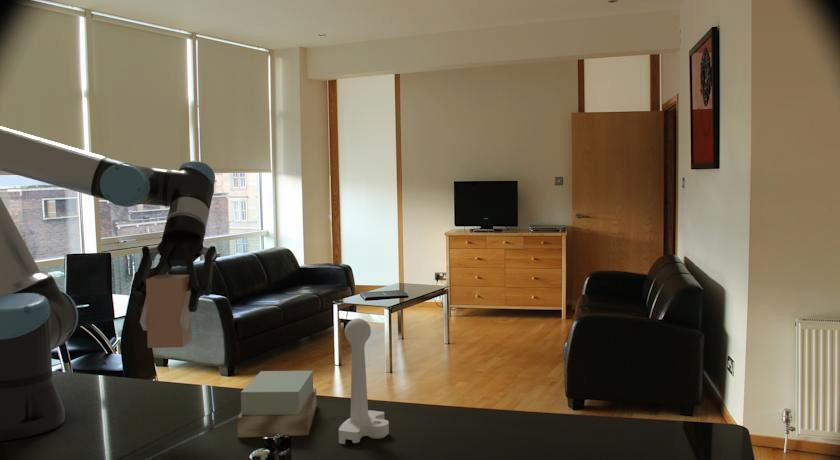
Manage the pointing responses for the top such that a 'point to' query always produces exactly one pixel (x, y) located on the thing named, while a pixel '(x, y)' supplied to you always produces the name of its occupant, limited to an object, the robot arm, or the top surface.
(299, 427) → the tower base
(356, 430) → the joystick
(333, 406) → the top surface
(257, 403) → the tower top
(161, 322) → the terracotta column
